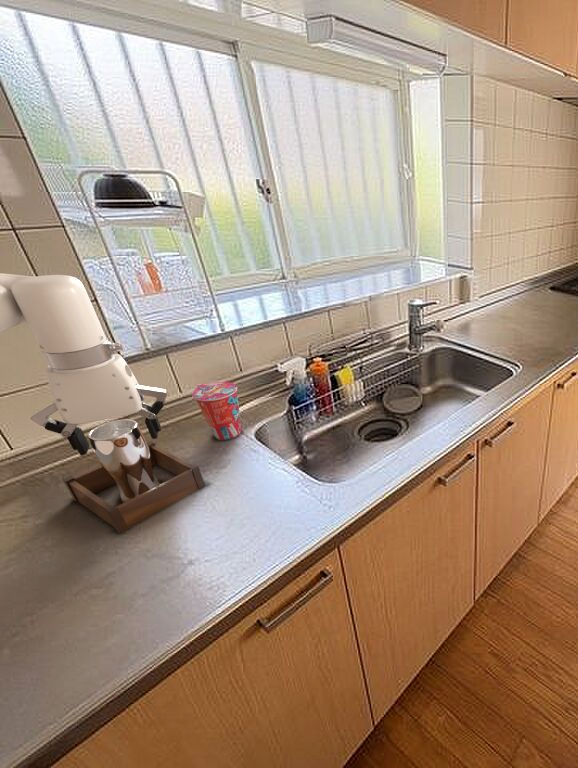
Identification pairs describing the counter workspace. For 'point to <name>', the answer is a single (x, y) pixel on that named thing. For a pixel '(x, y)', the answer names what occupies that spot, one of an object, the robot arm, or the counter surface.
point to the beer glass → (124, 456)
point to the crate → (143, 503)
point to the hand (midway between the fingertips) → (121, 442)
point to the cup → (220, 408)
